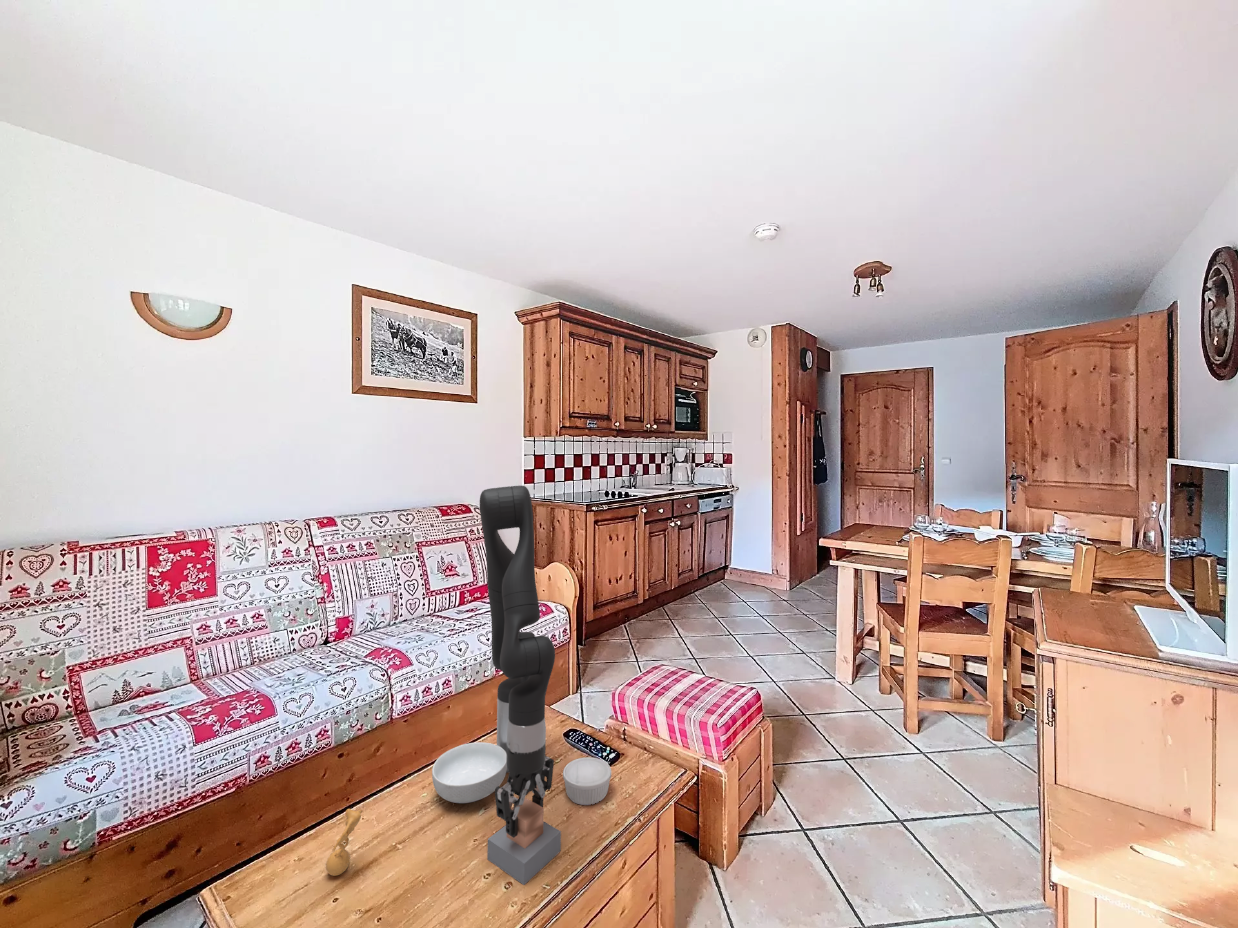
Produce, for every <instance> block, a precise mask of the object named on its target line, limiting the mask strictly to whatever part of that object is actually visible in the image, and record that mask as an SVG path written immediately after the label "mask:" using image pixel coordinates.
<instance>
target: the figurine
mask: <svg viewBox="0 0 1238 928" xmlns="http://www.w3.org/2000/svg"><path fill="white" fill-rule="evenodd" d="M362 812H363V809H359V810H353V809H351V808H347V809H346V810H345V813H344V815H345V816H346V819H345V821H344V822H345V828H344V831H343V832H342V833H341V835H340V837H339V838H338V839H337V840H336V843H335V845H334V846H333V848H332V849H331V852H332V853H330V854H329V856H328V858H327V860H326V863H325V870H326V872H327V874H329V875H331V876H334V877H335V876H339V875H342V874H343V873H344V872H345V871H346V870H347V869H348V867H349V865H350V863H351V854H350V852H349V851H348V850H347V849H346V848H347V846H348V845H349V841H350V838H349V836H350V835H351V834H352V833H353V831H355V828H356V827H357V826H358V825H359V822H360V821H361V819H362ZM343 842H345V844H344V843H343ZM338 847H339V848H338ZM337 848H338V849H337Z"/></svg>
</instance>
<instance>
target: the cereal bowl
mask: <svg viewBox="0 0 1238 928" xmlns="http://www.w3.org/2000/svg"><path fill="white" fill-rule="evenodd" d="M506 757H507V754H506V752H505V750H504V749H502V748H501V747H499V746H497V744H495V743H490V742H484V741H483V742H481V741H480V742H479V741H478V742H477V741H476V742H469V743H465V744H461V745H458V746H455V747H453V748H450V749H448V750H447V751H445V752H444V753H442V754H441V755H440V756H439V757H438V758H437V759H436V761H435V762H434V764H433V766H432V769H431V778H432V779H431V780H432V783H433V786H434V789H435V792H436V794H438V796H439V797H440V798H442V799H444V800H445V801H448V802H451V803H456V804H469V803H473V802H478V801H479V800H482V799H484V798H486V797H488V796H489V795H491V794H493V793H495V789H496V787H497V786H499V787H501V784H502V783H503V781H504V779H505V777H506V775H507V772H506V771H507V764H506Z"/></svg>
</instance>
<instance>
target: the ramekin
mask: <svg viewBox="0 0 1238 928" xmlns="http://www.w3.org/2000/svg"><path fill="white" fill-rule="evenodd" d="M611 778H612V769H611V766H610V765H609V764H608V763H607V761H605V760H603V759H600V758H597V757H589V756H588V757H579V758H576V759H573V760H571V761H570V762H569V763H567V764H566V765H565V766H564V767H563V770H562V779H563V780H564V786H565V793H566V795H567V797H568V798H569V800H570V801H572V802H573V803H574V804H578V805H582V806H591V804H592V805H595V803H596V804H598V803H600V802H601V801H603V800H604V798H605V797H606V796H607V794H608V792H609V787H610V786H609V785H610V782H611V781H610V780H611ZM599 801H600V802H599Z"/></svg>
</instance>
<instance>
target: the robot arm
mask: <svg viewBox="0 0 1238 928" xmlns="http://www.w3.org/2000/svg"><path fill="white" fill-rule="evenodd" d="M479 513H480V521H481V522H480V523H481V527H482V534H483V535H482V536H483V542H484V548H485V556H486V557H485V559H486V575H487V576H486V577H487V578H486V580H487V581H486V582H487V591H488V592H487V593H488V601H489V608H490V617H491V618H490V619H491V658H492V664H493V666H494V669H496V670H499V671H501V672H502V674H503V675H504V676H505V677H506V678H507V679H504V680H503V681H501V682H500V683H499V685H498V687H497V699H496V700H497V703H496V710H497V712H496V745H497V746H499V747H501V748H502V749H504V750H505V752H506V754H507V757H506V764H507V771H506V774H507V773H508V776H507V780H506V783H505V784H504V785H503V786H497V787H496V789H495V791H494V798H495V809H496V817H498V818H500V819H501V820H503V821H504V822H505V825H506V833H508V834H509V835H510V836H512V837H513V838H514V837H516V836H517V835H518V817H517V815H518V812H519V808H520V806H522V805H523V802H524V799H525V798H526V796H527V795H528V794H529V793H530V792H531V793H532V794H533V795H532V797H531V801H532V802H534V803H536V804H538V805H539V806H541V807H543V808H544V798H545V796H546V792H547V791H550V790H551V789H552V784H553V776H554V775H553V774H554V764H555V760H554V759H553V758H551V757H549V756H547V755H546V742H547V741H546V737H547V733H546V732H547V729H546V728H547V726H546V716H545V715H546V713H545V712H546V706H545V705H546V695H547V690H548V687H549V682H550V680H551V679H550V678H551V675H552V672H553V670H554V666H555V661H556V648H555V645H554V643H553V641H552V640H551V639H550V637H548V636H546V635H536V634H534V632H531V631H521V630H522V629H524V628H526V627H529V626H531V625H532V626H533V625H534V624H536V623H537V622H539V621H540V618H541V614H540V613H541V612H540V606H539V597H538V590H537V585H536V583H537V582H536V573H535V572H536V570H535V532H534V531H535V530H534V529H535V528H534V512H533V502H532V497H531V493H530V491H529V489H528V487H526V486H525V485H511V486H501V487H500V486H498V487H493V488H487V489H484V490H482V491H481V494H480V495H479ZM517 528H518V529H519V537H518V541H517V542H518V543H517V546H516V548H515V551H514V552H512V550H510V549H509V547H508V546H507V545H506V544H505V542H504V540H503V539H502V537H501V536H500V535H501V534H499V531H501V530H508V529H517ZM545 779H546V780H545ZM514 795H515V796H517V797H518V798H517V797H515V796H514ZM512 806H513V807H514V808H513V807H512ZM511 808H513V810H512V809H511Z"/></svg>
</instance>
